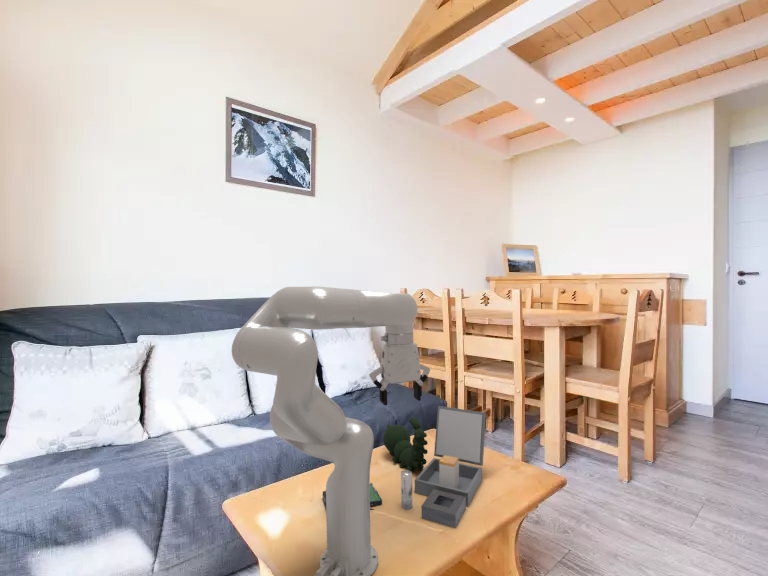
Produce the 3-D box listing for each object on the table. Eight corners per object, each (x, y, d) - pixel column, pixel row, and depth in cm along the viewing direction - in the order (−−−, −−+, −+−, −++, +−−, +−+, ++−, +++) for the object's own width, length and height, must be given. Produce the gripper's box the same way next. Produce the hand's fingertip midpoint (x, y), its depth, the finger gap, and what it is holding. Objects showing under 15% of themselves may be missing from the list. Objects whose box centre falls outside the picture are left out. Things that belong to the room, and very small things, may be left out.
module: (454, 491, 112) (454, 464, 111) (439, 488, 114) (439, 461, 114) (459, 484, 116) (458, 457, 115) (444, 481, 118) (444, 454, 118)
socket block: (455, 531, 95) (455, 515, 95) (421, 521, 99) (421, 505, 99) (465, 511, 103) (465, 496, 103) (433, 503, 107) (433, 488, 107)
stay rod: (409, 513, 103) (409, 476, 102) (399, 510, 104) (399, 474, 104) (414, 508, 105) (413, 471, 105) (404, 505, 107) (403, 469, 107)
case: (468, 509, 104) (468, 493, 104) (414, 495, 111) (414, 480, 111) (482, 482, 118) (482, 468, 118) (433, 471, 125) (433, 457, 125)
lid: (484, 412, 121) (485, 412, 122) (437, 405, 129) (438, 405, 130) (481, 466, 118) (483, 465, 119) (433, 456, 125) (434, 455, 126)
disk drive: (329, 521, 101) (383, 509, 106) (328, 511, 101) (382, 499, 106) (322, 500, 111) (371, 490, 115) (321, 490, 111) (371, 480, 115)
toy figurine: (433, 480, 123) (398, 443, 146) (435, 423, 121) (399, 395, 144) (407, 487, 119) (375, 448, 142) (409, 428, 117) (376, 398, 140)
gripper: (372, 343, 99) (374, 410, 99) (434, 338, 104) (435, 401, 105) (365, 339, 106) (366, 401, 106) (423, 334, 111) (424, 393, 112)
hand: (401, 401), depth 106 cm, fingers open, 9 cm apart
